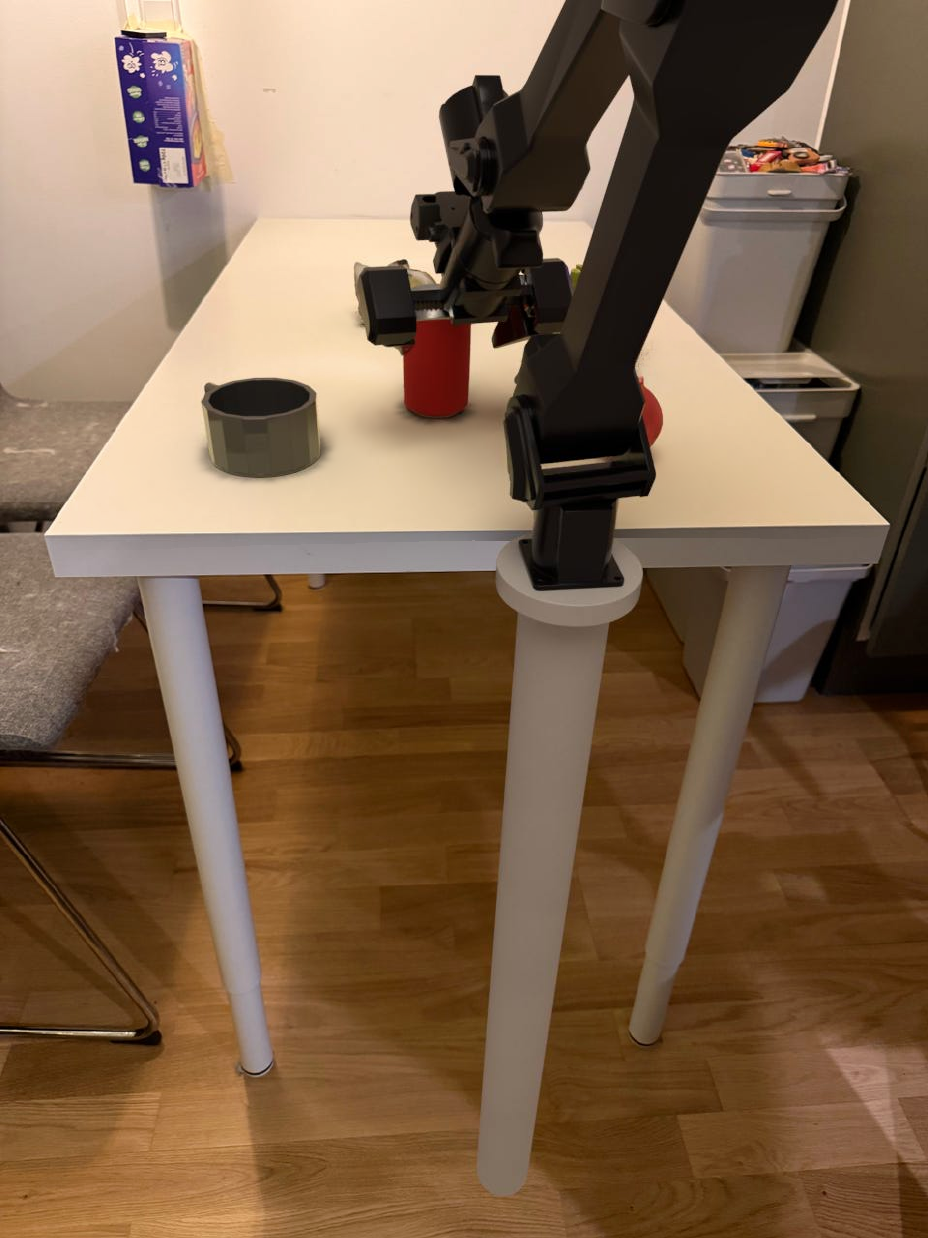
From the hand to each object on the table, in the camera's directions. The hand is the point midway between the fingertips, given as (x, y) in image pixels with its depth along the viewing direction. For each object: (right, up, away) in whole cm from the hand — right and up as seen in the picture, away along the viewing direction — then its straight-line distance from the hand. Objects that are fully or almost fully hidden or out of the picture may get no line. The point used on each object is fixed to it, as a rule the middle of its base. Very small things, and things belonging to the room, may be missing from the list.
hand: (448, 347), depth 84 cm
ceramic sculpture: (-6, +12, +30) cm, 33 cm away
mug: (-18, -10, -2) cm, 21 cm away
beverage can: (-1, -4, +8) cm, 9 cm away
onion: (+17, -11, -2) cm, 20 cm away
